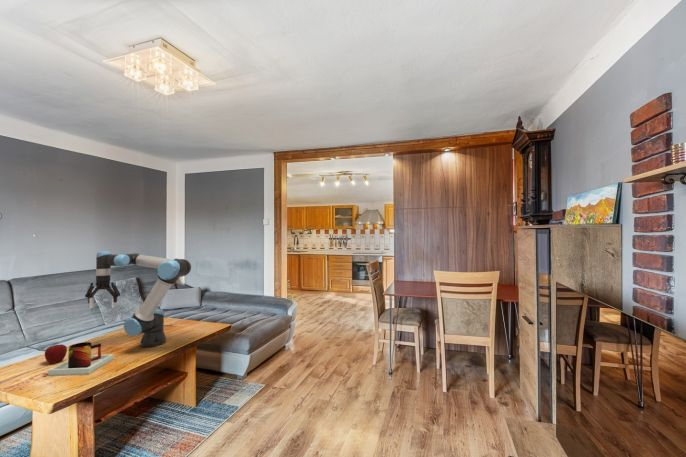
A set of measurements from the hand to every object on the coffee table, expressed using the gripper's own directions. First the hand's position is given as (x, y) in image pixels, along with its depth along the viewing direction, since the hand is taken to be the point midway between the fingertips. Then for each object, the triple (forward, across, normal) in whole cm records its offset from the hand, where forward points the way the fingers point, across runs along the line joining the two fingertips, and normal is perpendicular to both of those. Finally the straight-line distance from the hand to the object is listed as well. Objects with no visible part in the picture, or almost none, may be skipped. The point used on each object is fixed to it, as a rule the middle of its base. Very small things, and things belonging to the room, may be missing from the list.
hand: (102, 307), depth 200 cm
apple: (+27, +12, +20) cm, 36 cm away
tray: (+27, -9, +29) cm, 40 cm away
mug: (+26, -9, +28) cm, 40 cm away
